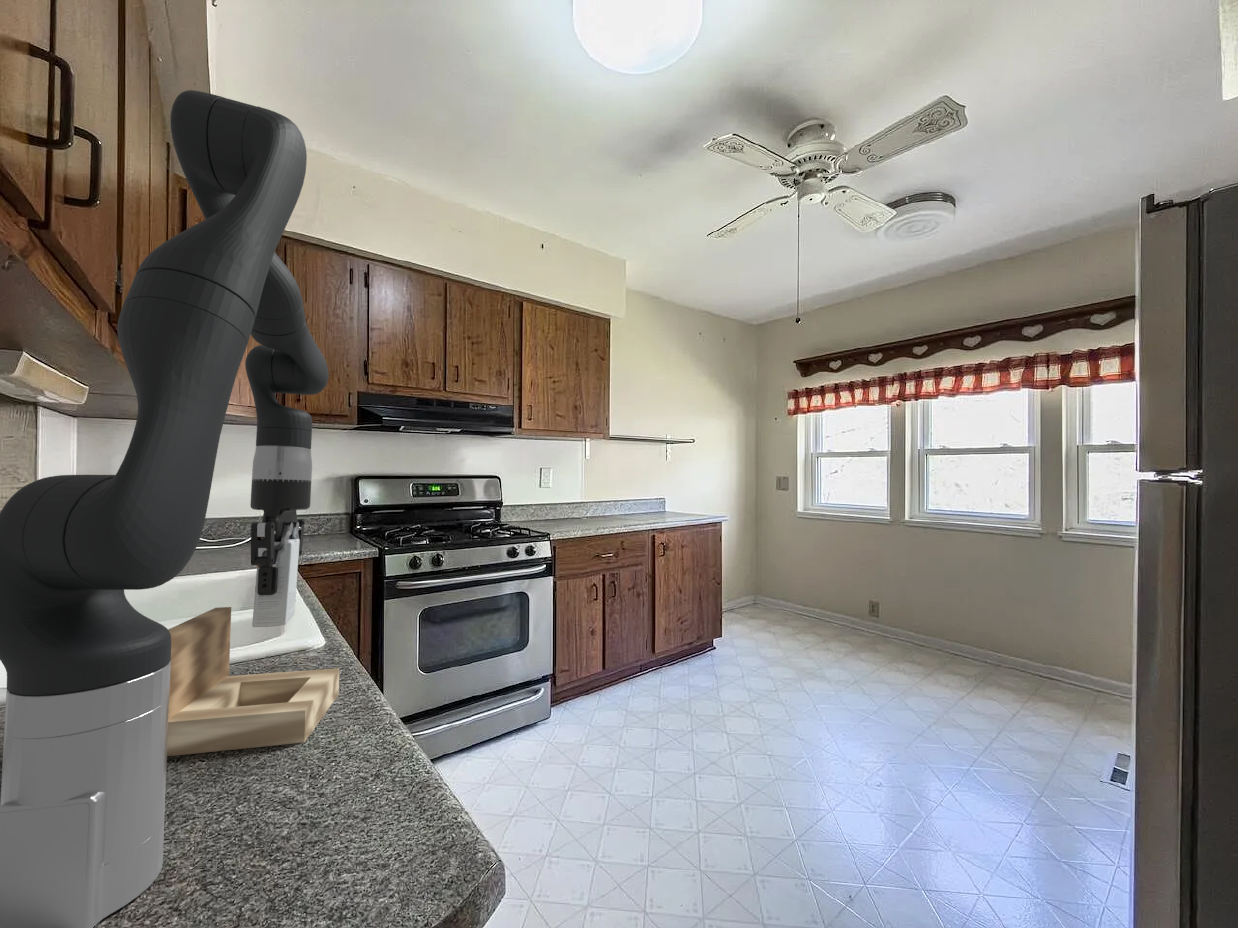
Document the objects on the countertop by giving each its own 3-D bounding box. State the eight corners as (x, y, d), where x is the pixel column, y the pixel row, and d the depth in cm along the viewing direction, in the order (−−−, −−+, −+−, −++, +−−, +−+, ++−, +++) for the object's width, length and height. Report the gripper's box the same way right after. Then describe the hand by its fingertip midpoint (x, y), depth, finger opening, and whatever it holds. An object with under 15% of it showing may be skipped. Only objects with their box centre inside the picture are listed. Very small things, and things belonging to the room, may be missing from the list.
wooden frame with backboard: (303, 744, 64) (306, 630, 65) (140, 760, 60) (145, 639, 61) (339, 693, 80) (342, 602, 80) (212, 703, 76) (215, 607, 76)
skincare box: (262, 619, 78) (266, 538, 79) (296, 616, 80) (300, 537, 80) (250, 628, 72) (255, 541, 73) (288, 625, 74) (292, 541, 75)
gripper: (293, 476, 71) (287, 598, 70) (324, 480, 85) (319, 582, 84) (230, 475, 69) (223, 601, 68) (273, 479, 83) (267, 583, 82)
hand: (276, 590), depth 76 cm, fingers closed on skincare box, 6 cm apart
